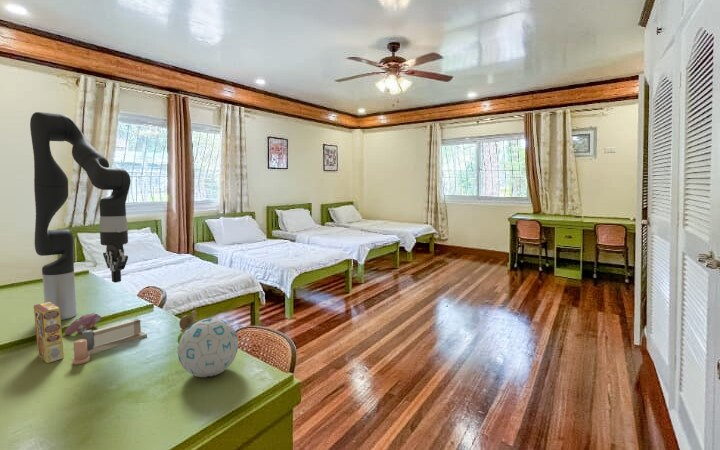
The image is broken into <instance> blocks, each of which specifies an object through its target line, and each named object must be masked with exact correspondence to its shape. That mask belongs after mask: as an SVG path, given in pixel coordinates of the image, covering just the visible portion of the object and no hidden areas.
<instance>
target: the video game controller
mask: <svg viewBox="0 0 720 450" xmlns="http://www.w3.org/2000/svg"><path fill="white" fill-rule="evenodd" d="M101 318H102V317H101V315H99V314H98V313H95V312H93V313H87V314H84V315H82V316H80V317H79V318H76V319H75V320H74V321H73V322H71V324H70V325H68V326H67V327H65V329H64V334H65V335H66V336H70V335H72V334H74V333H75V332H77V333H78V334H82V332H83V331H86V330H92V328H93V327H94V326H96V324H98V323H99V322H100V321H101Z"/></svg>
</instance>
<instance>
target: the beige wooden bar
mask: <svg viewBox="0 0 720 450" xmlns="http://www.w3.org/2000/svg"><path fill="white" fill-rule="evenodd" d="M141 331H142V328H141V319H139V318H135V319H131V320H129V321H124V322H121V323H117V324H113V325H109V326H105V327H102V328H99V329H94V330H92V329H89V330H88V329H85V330H84V331H83V332H82V333H81V338H82V339H86V340H87V350H90V349H92V348H94V346H98V345H101V344H105V343H108V342H111V341H115V340H118V339H121V338H125V337H128V336H131V335H136V334H139V333H141Z"/></svg>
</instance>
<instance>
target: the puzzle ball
mask: <svg viewBox="0 0 720 450" xmlns="http://www.w3.org/2000/svg"><path fill="white" fill-rule="evenodd" d="M238 348H239V337H238V336H237V333H236V331H235V329H234V328H233V327H232V326H231V325H230V324H229V323H227V322H226V321H224V320H223V319H218V318H214V317H212V318H203V319H200V320H198V321H195V322H194V325H193V324H192V325H191V326H190V327H189V328H187V330H186V331H185V332H184V334H183V335H182V337H181V339H180V342H179V344H178V346H177V355H178V360H179V362H180V365H181V367H182V368H183V369H184V370H185V371H186V372H188V373H189V374H191V375H193V376H195V377H198V378H208V377H207V376H210V377H214V376H213V375H215V376H218V375H219V374H221V373H224V372H225V370H226V369H228V368H229V367H230V366H231V365H232V364H233V362H234V360H235V358H236V357H237V356H236V355H237V353H238Z"/></svg>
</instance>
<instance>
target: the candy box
mask: <svg viewBox="0 0 720 450" xmlns="http://www.w3.org/2000/svg"><path fill="white" fill-rule="evenodd" d="M33 314H34V323H35V325H34V326H35V333H36V336H35V337H36V344H37V353H38V354H37V355H38V356H39V357H40V358H41V359H42V360H44V362H45V363H47V364H49V363H53V362H56V361H59V360H62V359H64V358H65V357H64V345H63V344H64V343H63V334H62V333H63V331H62V320H61V318H60V308H59V307H57V306H56V305H54V304H53V303H51V302H48V303H38V304H34V305H33Z"/></svg>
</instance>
